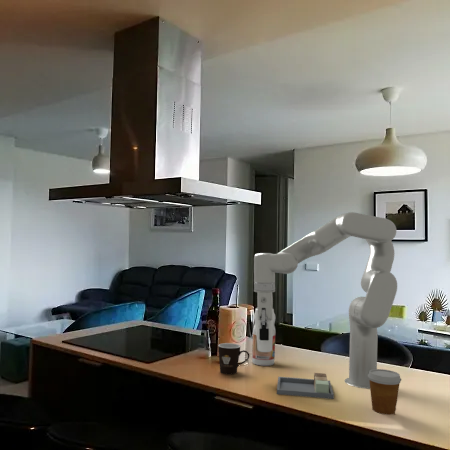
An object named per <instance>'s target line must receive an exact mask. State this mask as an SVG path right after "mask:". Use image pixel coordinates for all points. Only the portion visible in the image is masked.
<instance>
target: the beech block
mask: <svg viewBox="0 0 450 450" xmlns="http://www.w3.org/2000/svg"><path fill="white" fill-rule="evenodd" d="M316 380H321V381H329V380H328V376H327V377H317V376H315V383H316Z"/></svg>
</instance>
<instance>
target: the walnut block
mask: <svg viewBox="0 0 450 450" xmlns="http://www.w3.org/2000/svg"><path fill="white" fill-rule="evenodd" d="M315 376H317V377H327V378H328V376H327V373H323V372H322V373H321V372H314V373H313V379H314V388H315Z"/></svg>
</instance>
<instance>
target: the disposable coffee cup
mask: <svg viewBox="0 0 450 450" xmlns="http://www.w3.org/2000/svg"><path fill="white" fill-rule="evenodd" d="M368 377H369V381H370V399H371V409H372V411H373V412H375V413H378V414H382V415H389V416H390V415H394V416H395V415H396V410H397V402H398V397H399V395H398V394H399V390H400V384H401V381H402V378H401V375H400V373H399V372H396V371H394V370H389V369H383V368H377V369H373V370H370V371H369V374H368Z"/></svg>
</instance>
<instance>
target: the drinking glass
mask: <svg viewBox="0 0 450 450" xmlns="http://www.w3.org/2000/svg"><path fill="white" fill-rule="evenodd" d="M254 313H255V322H254V325H255V324H256V335H257V350H258V351H260V352H271V351H272V341H273V328H274V326H275V323H274V313H275V309H274V308H273V309H272V320H271V321H270V319H268V329H269V340H260V320H259V319H258V307H256V308H255V311H254ZM261 319H262V315H261ZM265 320H267V315H266V316H265ZM265 322H266V321H265Z"/></svg>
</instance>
